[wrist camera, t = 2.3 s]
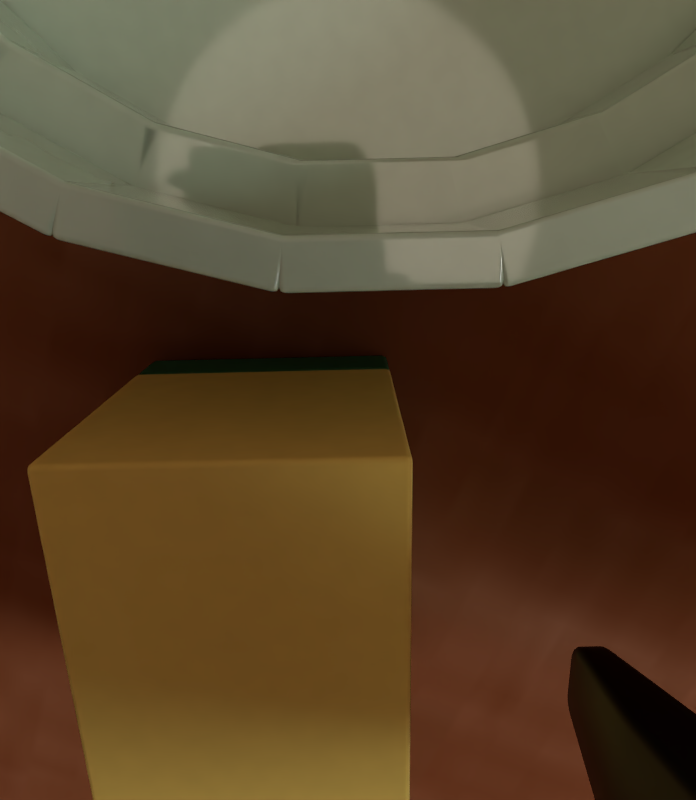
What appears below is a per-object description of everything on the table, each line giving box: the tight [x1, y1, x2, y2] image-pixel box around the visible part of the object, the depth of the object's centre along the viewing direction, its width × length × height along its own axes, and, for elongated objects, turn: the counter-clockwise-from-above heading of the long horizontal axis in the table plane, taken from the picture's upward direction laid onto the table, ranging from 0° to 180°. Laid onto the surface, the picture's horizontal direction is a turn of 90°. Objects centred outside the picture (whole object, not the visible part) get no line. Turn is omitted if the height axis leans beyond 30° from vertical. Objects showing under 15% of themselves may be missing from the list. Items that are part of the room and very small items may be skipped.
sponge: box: [27, 356, 413, 800], centre depth 11 cm, size 4×7×5 cm, turn 1°
